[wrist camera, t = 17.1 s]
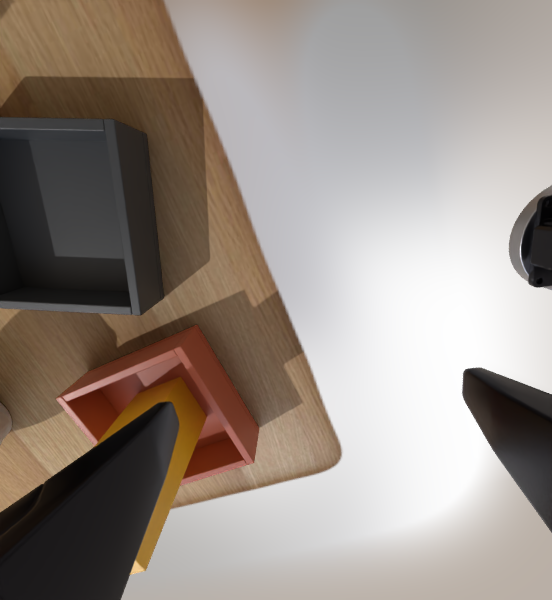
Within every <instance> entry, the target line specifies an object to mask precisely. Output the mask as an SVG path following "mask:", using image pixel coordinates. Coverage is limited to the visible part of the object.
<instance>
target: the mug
mask: <svg viewBox="0 0 552 600" xmlns="http://www.w3.org/2000/svg"><path fill="white" fill-rule="evenodd" d="M11 428H12V419H11V416H10V414H9V412H8V410H7V409H6V408H5V407H4V406H3V405H2V404H1V403H0V445H1V443H2V441H3V439H4V438H5V437H6V435H7V434H8V433H9V431H10V430H11Z"/></svg>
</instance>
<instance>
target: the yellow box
mask: <svg viewBox="0 0 552 600" xmlns="http://www.w3.org/2000/svg"><path fill="white" fill-rule="evenodd" d="M166 401H170V402H172V403H173V405H174V408H175V411H176V414H177V416H178V419H179V431H178V435H177V439H176V443H175V446H174V450H173V454H172V458H171V461H170V465H169V469H168V472H167V476H166V479H165V481H164V484H163V487H162V490H161V492H160V495H159V498H158V500H157V503H156V506H155V509H154V511H153V514H152V517H151V519H150V522H149V525H148V527H147V530H146V533H145V535H144V538H143V541H142V544H141V546H140V549H139V552H138V554H137V557H136V560H135V562H134V565H133V568H132V570H131V573H130V575H131V574H135V573H139V572H143V571H145V570H146V569H147V566H148V564H149V561H150V559H151V556H152V554H153V551H154V549H155V546H156V544H157V541H158V539H159V536H160V533H161V531H162V529H163V526H164V524H165V521H166V519H167V516H168V514H169V511H170V509H171V506H172V504H173V501H174V499H175V496H176V494H177V491H178V489H179V486H180V484H181V481H182V479H183V476H184V474H185V471H186V469H187V466H188V464H189V461H190V459H191V456H192V454H193V451H194V449H195V446H196V443H197V441H198V438H199V436H200V433H201V431H202V428H203V426H204V423H205V421H206V418H207V416H206V415H205V413H204V412H203V410H202V408H201V407H200V405H199V404H198V402H197V401H196V399H195V398H194V396H193V395H192V393H191V392H190V390H189V389H188V387H187V385H186V384H185V382H184V381H183V379H182V378H181V377H178V378H176V379H173V380H171V381H168V382H166V383H163V384H161V385H158V386H156V387H153V388H150V389H148V390H145V391H143V392H140V393H138V394H136V396H135V397H134V398H133V399H132V401H131V402H130V403H129V404H128V405H127V407H126V408H125V409H124V410H123V412H122V413H121V414H120V415H119V417H118V418H117V419H116V420H115V422H114V423H113V424H112V425H111V426H110V428H109V429H108V430H107V431H106V433H105V434H104V435H103V436H102V438H101V439H100V440H99V441H98V442H97V444H96V445H95V446H97V445H98V444H100V443H101V442H103V441H104V440H105V439H107V438H108V437H110V436H111V435H113V434H114V433H115V432H117V431H118V430H120V429H121V428H123V427H124V426H125V425H127V424H128V423H130V422H131V421H133V420H134V419H135V418H137V417H138V416H140V415H141V414H143V413H144V412H145V411H147V410H148V409H150V408H151V407H153V406H154V405H155V404H157V403H159V402H166ZM95 446H94V447H95ZM94 447H93V448H94Z"/></svg>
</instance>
